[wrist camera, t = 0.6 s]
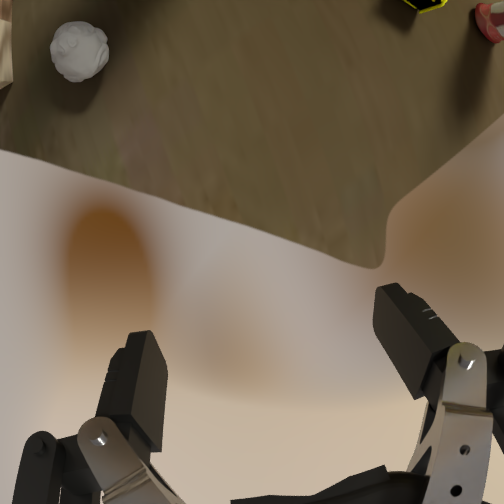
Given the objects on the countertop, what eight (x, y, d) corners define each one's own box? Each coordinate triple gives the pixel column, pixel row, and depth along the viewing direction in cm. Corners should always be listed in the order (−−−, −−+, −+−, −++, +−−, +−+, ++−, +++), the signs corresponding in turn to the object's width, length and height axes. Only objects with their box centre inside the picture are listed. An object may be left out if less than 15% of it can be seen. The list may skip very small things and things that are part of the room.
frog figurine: (103, 20, 23) (80, 3, 17) (128, 64, 26) (108, 53, 20) (60, 52, 24) (30, 43, 18) (84, 96, 27) (55, 94, 21)
